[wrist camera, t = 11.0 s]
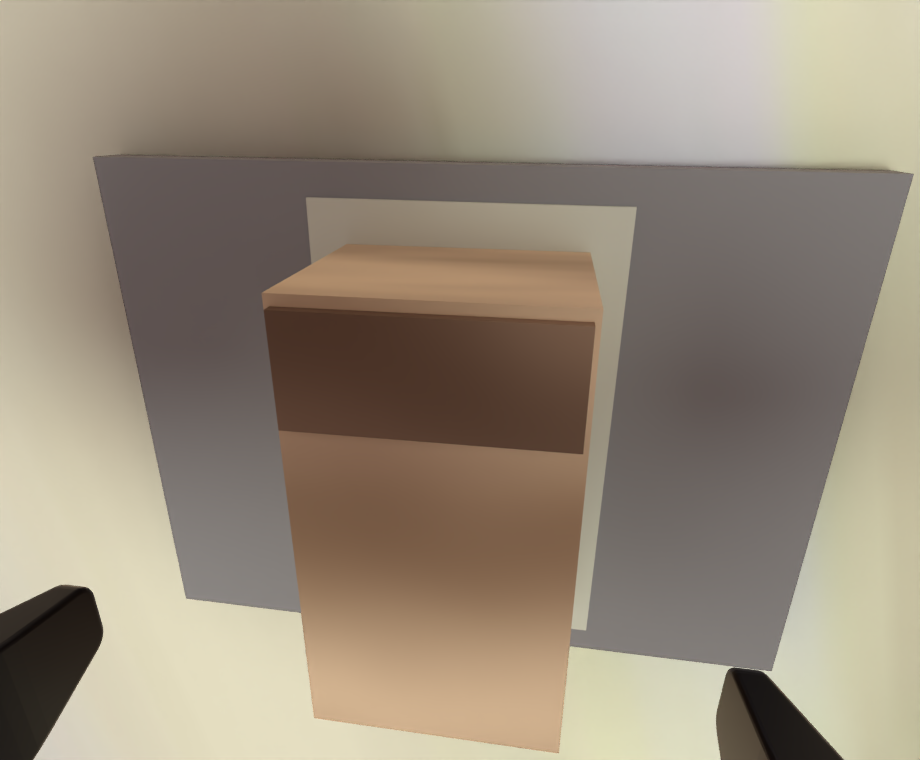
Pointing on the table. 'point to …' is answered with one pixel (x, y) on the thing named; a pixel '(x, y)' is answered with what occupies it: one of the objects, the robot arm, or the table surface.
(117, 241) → the mat
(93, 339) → the table surface
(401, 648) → the copper block with band
